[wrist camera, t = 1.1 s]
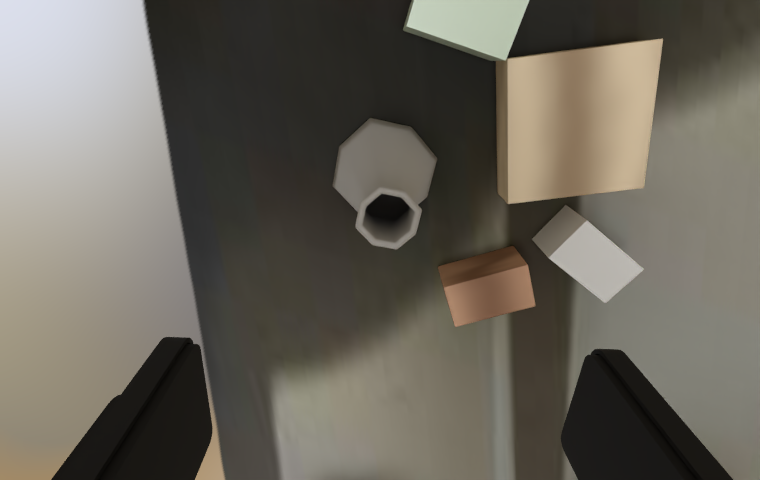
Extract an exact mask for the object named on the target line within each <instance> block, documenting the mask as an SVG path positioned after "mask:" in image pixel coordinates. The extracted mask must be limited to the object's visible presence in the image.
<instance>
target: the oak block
mask: <svg viewBox="0 0 760 480" xmlns="http://www.w3.org/2000/svg"><path fill="white" fill-rule="evenodd" d="M662 43H663V39H655V40H643V41H634V42H626V43H619V44H611V45H604V46H596V47H588V48H581V49H573V50H566V51H558V52H550V53H543V54H535V55H528V56H520V57H513V58H507V59H506V61H496V116H497V193H498V194H499V195H500V196H501V197H502V198H503V199H504V200H505V201H506V202H507V204H513V203H521V202H529V201H538V200H546V199H554V198H563V197H571V196H580V195H588V194H596V193H605V192H613V191H622V190H630V189H638V188H644V183H645V175H646V167H647V160H648V152H649V144H650V136H651V129H652V121H653V113H654V105H655V98H656V90H657V82H658V74H659V66H660V59H661V51H662Z"/></svg>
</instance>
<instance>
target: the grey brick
mask: <svg viewBox="0 0 760 480" xmlns="http://www.w3.org/2000/svg"><path fill="white" fill-rule="evenodd" d="M532 240H533V241H534V242H535V244H536V245H537V246H538V247H539V248H540V249H541V250H542V251H543V253H544V254H545V255H546V256H547V257H548V258H549V259H550V260H552V261H553V262H554V263H555V264H557V265H558V266H559V267H560V268H562V269H563V270H564V271H565V272H567V273H568V274H569V275H570V276H572V277H573V278H574V279H575V280H577V281H578V282H579V283H580V284H582V285H583V286H584V287H585V288H587V289H588V290H589V291H590V292H592V293H593V294H594V295H595V296H597V297H598V298H599V299H600V300H602V301H603V302H604V303H606V302H607V301H609V300H610V299H611V298H612V297H613V296H614V295H615V294H617V293H618V292H619V291H620V290H621V289H622V288H623V287H624V286H626V285H627V284H628V283H629V282H630V281H631V280H632V279H634V278H635V277H636V276H637V275H638V274H639V273H640V272H641V271H643V270H644V269H643V268H642V267H641V266H640V265H638V264H637V263H636V262H635V261H634V260H633V259H631V258H630V257H629V256H628V255H627V254H626V253H624V252H623V251H622V250H621V249H620V248H619V247H617V246H616V245H615V244H614V243H613V242H612V241H610V240H609V239H608V238H607V237H606V236H605V235H604V234H602V233H601V232H600V231H599V230H598V229H597V228H595V227H594V226H593V225H592V224H591V223H590V222H588V221H587V220H586V219H585V218H583V217H582V216H580V215H579V214H578V213H576V212H575V211H574V210H572V209H571V208H570V207H568V206H567V205H565V206H564V207H563V208H562V209H561V210H560V211H559V212H558V213H557V214H556V215H555V216H554V217H553V218H552V219H551V220H550V221H549V222H548V223H547V224H546V225H545V226H544V227H543V228H542V229H541V230H540V231H539V232H538V233H537V234H536V235H535V236H534V237H533V238H532Z"/></svg>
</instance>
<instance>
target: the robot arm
mask: <svg viewBox="0 0 760 480" xmlns="http://www.w3.org/2000/svg"><path fill="white" fill-rule="evenodd" d="M211 437H212V422H211V415H210V408H209V402H208V395H207V389H206V383H205V375H204V369H203V362H202V355H201V349H200V346H199V345H198V344H193V341H192V340H191V338H179V337H165V338H163V339H162V340H161V341H160V342H159V344H158V345H157V346H156V348H155V349H154V350H153V352H152V353H151V355H150V356H149V357H148V359H147V360H146V361H145V363H144V364H143V365H142V367H141V368H140V370H139V371H138V373H137V374H136V375H135V376H134V378H133V379H132V380H131V382H130V383H129V385H128V386H127V387H126V389H125V390H124V391H123V393H122V394H121V395H118V396H116V397H115V398H113V399H112V400H111V401H110V403H109V404H108V405H107V406H106V408H105V409H104V410H103V412H102V413H101V414H100V416H99V417H98V418H97V420H96V421H95V422H94V424H93V425H92V426H91V428H90V429H89V430H88V432H87V433H86V434H85V436H84V437H83V438H82V439H81V441H80V442H79V443H78V445H77V446H76V447H75V449H74V450H73V452H72V453H71V454H70V455H69V457H68V458H67V459H66V461H65V462H64V463H63V465H62V466H61V467H60V469H59V470H58V471H57V473H56V474H55V475H54V477H53V478H52V480H195V478H196V475H197V473H198V470H199V468H200V466H201V463H202V461H203V458H204V456H205V454H206V451H207V448H208V446H209V444H210V441H211ZM561 442H562V447H563V449H564V452H565V454H566V456H567V458H568V460H569V462H570V464H571V466H572V468H573V470H574V472H575V474H576V476H577V478H578V480H733V479H732V478H731V477H730V475H729V474H728V473H727V472H726V471H725V470H724V468H723V467H722V466H721V465H720V464H719V463H718V461H717V460H716V459H715V458H714V457H713V456H712V454H711V453H710V452H709V451H708V450H707V449H706V447H705V446H704V445H703V444H702V443H701V442H700V440H699V439H698V438H697V437H696V436H695V435H694V433H693V432H692V431H691V430H690V429H689V428H688V426H687V425H686V424H685V423H684V422H683V421H682V419H681V418H680V417H679V416H678V415H677V414H676V412H675V411H674V410H673V409H672V408H671V407H670V405H669V404H668V403H667V402H666V401H665V400H664V398H663V397H662V396H661V395H660V394H659V393H658V391H657V390H656V389H655V388H654V387H653V386H652V384H651V383H650V382H649V381H648V380H647V379H646V377H645V376H644V375H643V374H642V373H641V372H640V370H639V369H638V368H637V367H636V366H635V365H634V363H633V362H632V361H631V360H630V359H629V358H628V356H627V355H626V354H625V353H624V352H623V351H621V350H614V349H595V350H594V351H593V352H592V353H591V355H587V356H586V357H585V359H584V362H583V366H582V369H581V372H580V375H579V378H578V382H577V385H576V388H575V391H574V395H573V398H572V401H571V404H570V407H569V411H568V414H567V417H566V420H565V423H564V427H563V430H562V434H561Z"/></svg>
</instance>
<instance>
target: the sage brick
mask: <svg viewBox="0 0 760 480" xmlns="http://www.w3.org/2000/svg"><path fill="white" fill-rule="evenodd" d="M528 2H529V0H412V1H411V4H410V8H409V11H408V14H407V18H406V21H405V25H404V28H403V31H406V32H409V33H411V34H414V35H417V36H420V37H423V38H426V39H429V40H432V41H435V42H437V43H440V44H443V45H446V46H449V47H452V48H455V49H458V50H461V51H464V52H466V53H469V54H472V55H475V56H478V57H481V58H484V59H487V60H490V61H506V59H507V56H508V54H509V51H510V48H511V46H512V43H513V41H514V38H515V36H516V33H517V30H518V28H519V25H520V23H521V20H522V18H523V15H524V12H525V10H526V7H527V5H528Z"/></svg>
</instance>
